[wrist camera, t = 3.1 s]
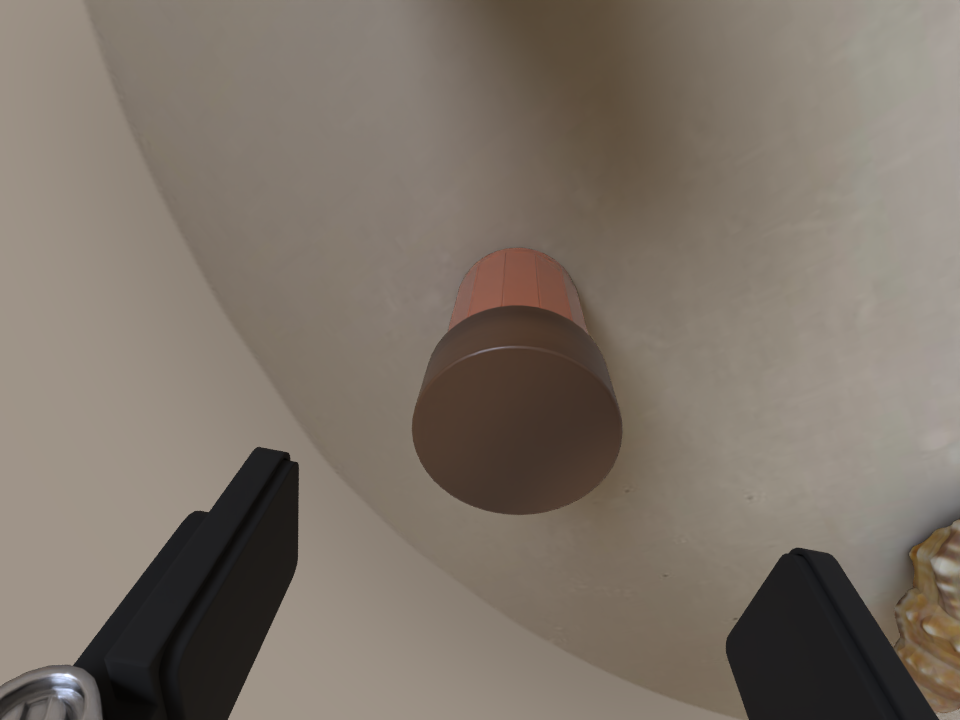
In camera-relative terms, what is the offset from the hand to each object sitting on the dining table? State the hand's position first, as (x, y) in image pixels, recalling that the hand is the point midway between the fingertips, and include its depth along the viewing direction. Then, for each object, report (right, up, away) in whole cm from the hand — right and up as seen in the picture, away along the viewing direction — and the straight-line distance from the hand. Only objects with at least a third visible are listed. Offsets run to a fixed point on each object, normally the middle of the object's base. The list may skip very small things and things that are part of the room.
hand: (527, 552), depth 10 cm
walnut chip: (0, +3, +5) cm, 6 cm away
